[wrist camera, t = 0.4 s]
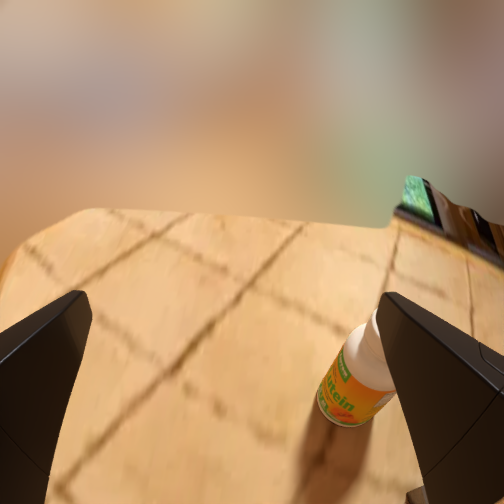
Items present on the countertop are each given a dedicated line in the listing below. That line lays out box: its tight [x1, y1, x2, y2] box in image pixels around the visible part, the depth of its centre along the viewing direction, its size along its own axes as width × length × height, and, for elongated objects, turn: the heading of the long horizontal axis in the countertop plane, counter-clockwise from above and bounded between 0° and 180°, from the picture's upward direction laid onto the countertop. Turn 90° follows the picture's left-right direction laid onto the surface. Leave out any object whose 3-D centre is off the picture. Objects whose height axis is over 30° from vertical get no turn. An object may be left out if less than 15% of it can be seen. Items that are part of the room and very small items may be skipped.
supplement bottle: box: [317, 309, 397, 427], centre depth 20 cm, size 5×5×10 cm
